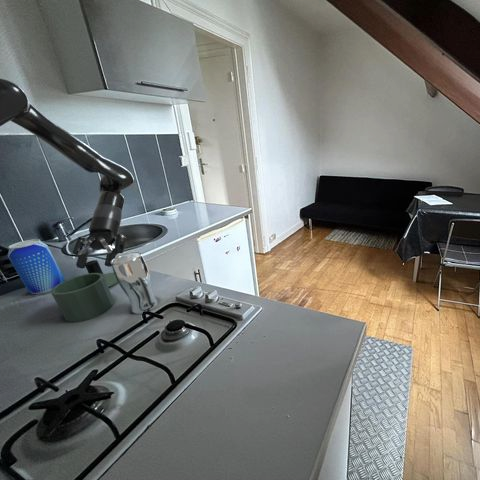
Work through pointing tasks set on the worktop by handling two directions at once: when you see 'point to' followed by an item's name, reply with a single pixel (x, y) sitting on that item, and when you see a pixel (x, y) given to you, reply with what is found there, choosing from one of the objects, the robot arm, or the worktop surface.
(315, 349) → the worktop surface
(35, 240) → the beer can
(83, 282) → the tin
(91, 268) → the tin lid
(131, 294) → the beer glass
